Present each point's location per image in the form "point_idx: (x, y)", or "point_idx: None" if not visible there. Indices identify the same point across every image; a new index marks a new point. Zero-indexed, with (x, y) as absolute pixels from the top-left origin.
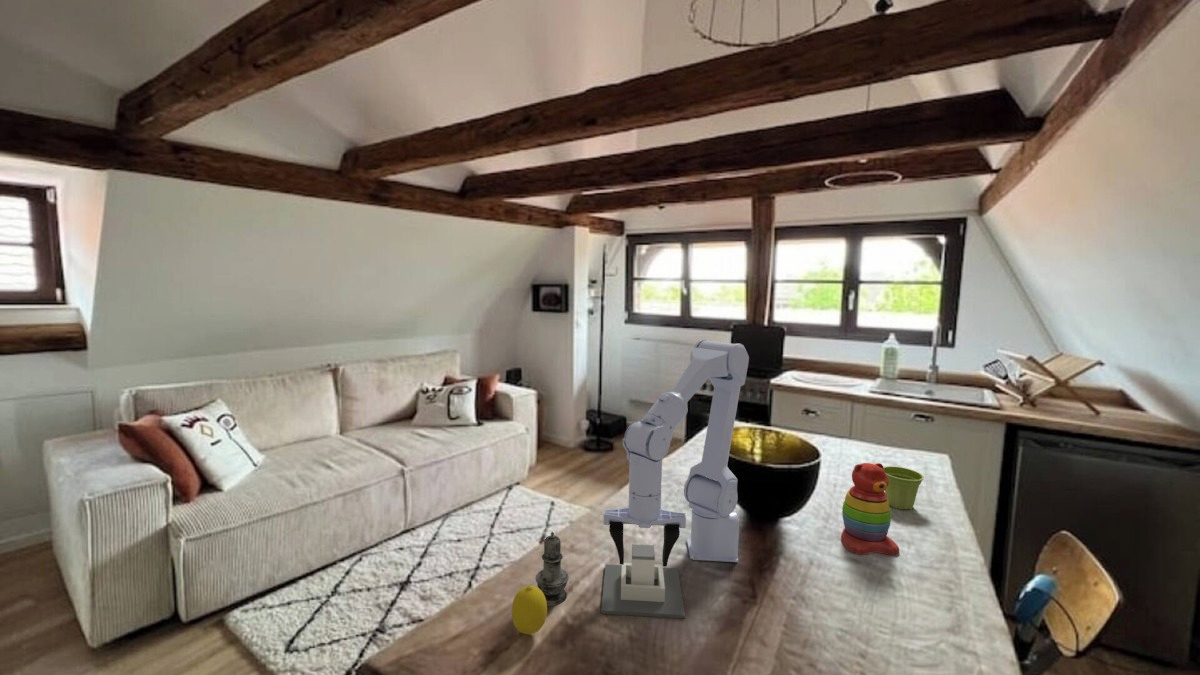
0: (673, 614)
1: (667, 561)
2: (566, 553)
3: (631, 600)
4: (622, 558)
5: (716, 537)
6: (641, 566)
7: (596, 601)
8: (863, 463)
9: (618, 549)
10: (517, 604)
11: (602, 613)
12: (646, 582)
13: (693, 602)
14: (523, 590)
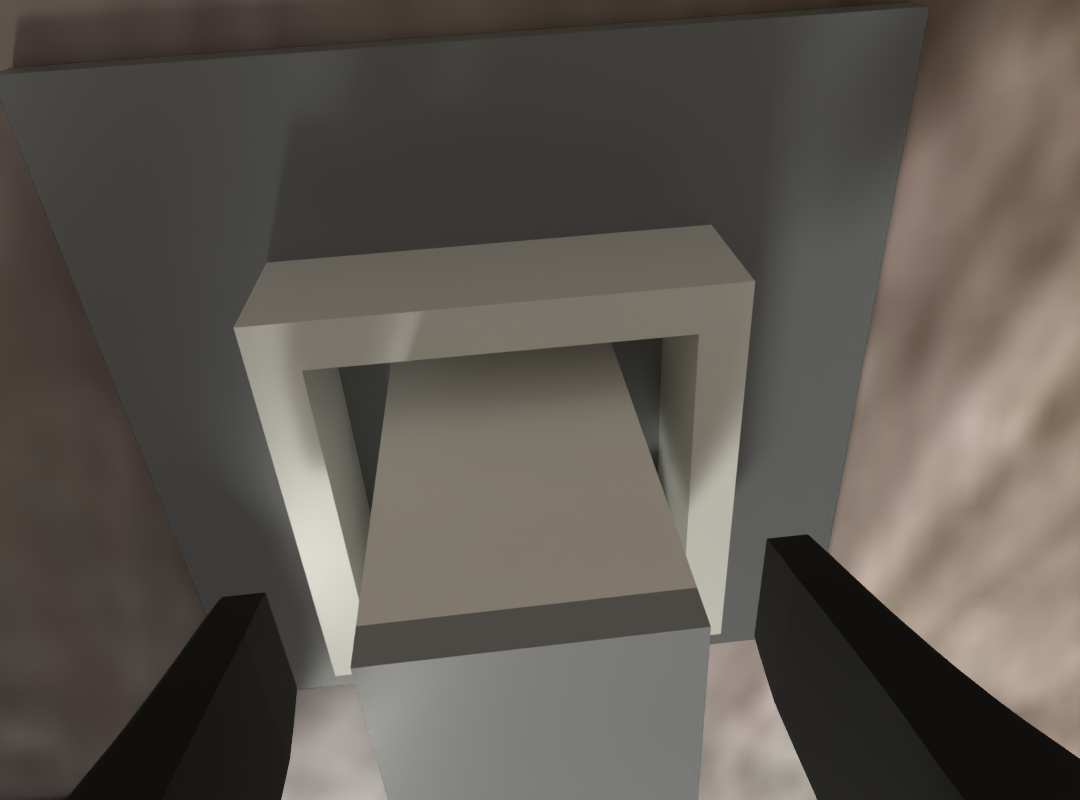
0: (126, 67)
1: (182, 652)
2: (1065, 688)
3: (603, 228)
4: (822, 587)
5: None
6: (543, 530)
7: (929, 194)
8: None
9: (962, 686)
10: None
11: (896, 5)
12: (466, 414)
13: (3, 342)
14: None
